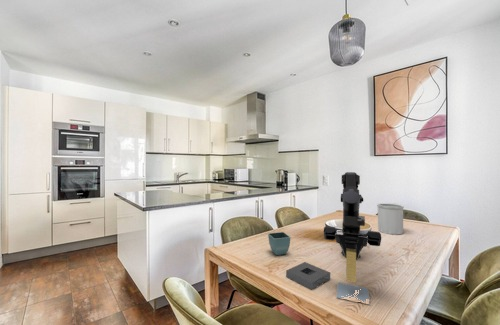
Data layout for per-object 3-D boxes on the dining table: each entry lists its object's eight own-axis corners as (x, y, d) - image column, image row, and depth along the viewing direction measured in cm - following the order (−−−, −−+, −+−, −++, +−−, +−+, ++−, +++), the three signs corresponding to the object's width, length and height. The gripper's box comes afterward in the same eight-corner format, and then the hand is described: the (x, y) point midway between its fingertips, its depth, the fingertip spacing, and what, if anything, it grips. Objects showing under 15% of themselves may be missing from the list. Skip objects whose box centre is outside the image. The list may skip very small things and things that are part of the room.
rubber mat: (337, 283, 85) (337, 282, 85) (367, 289, 81) (367, 288, 81) (336, 298, 76) (336, 297, 76) (370, 305, 72) (370, 304, 72)
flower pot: (273, 257, 108) (273, 238, 108) (267, 250, 117) (267, 233, 117) (290, 255, 111) (290, 237, 111) (283, 248, 119) (283, 231, 119)
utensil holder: (372, 229, 153) (372, 203, 153) (386, 227, 159) (386, 202, 159) (393, 236, 139) (394, 207, 139) (408, 233, 146) (408, 205, 146)
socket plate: (305, 267, 98) (305, 262, 98) (330, 278, 89) (330, 272, 89) (286, 276, 90) (286, 270, 90) (311, 289, 81) (311, 282, 81)
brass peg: (346, 276, 81) (346, 248, 81) (355, 278, 80) (355, 249, 80) (346, 280, 78) (346, 251, 78) (356, 282, 77) (356, 252, 77)
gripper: (324, 204, 86) (320, 243, 76) (380, 208, 79) (385, 252, 69) (326, 220, 93) (323, 258, 83) (378, 225, 86) (381, 267, 76)
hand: (351, 258), depth 78 cm, fingers closed on brass peg, 3 cm apart
